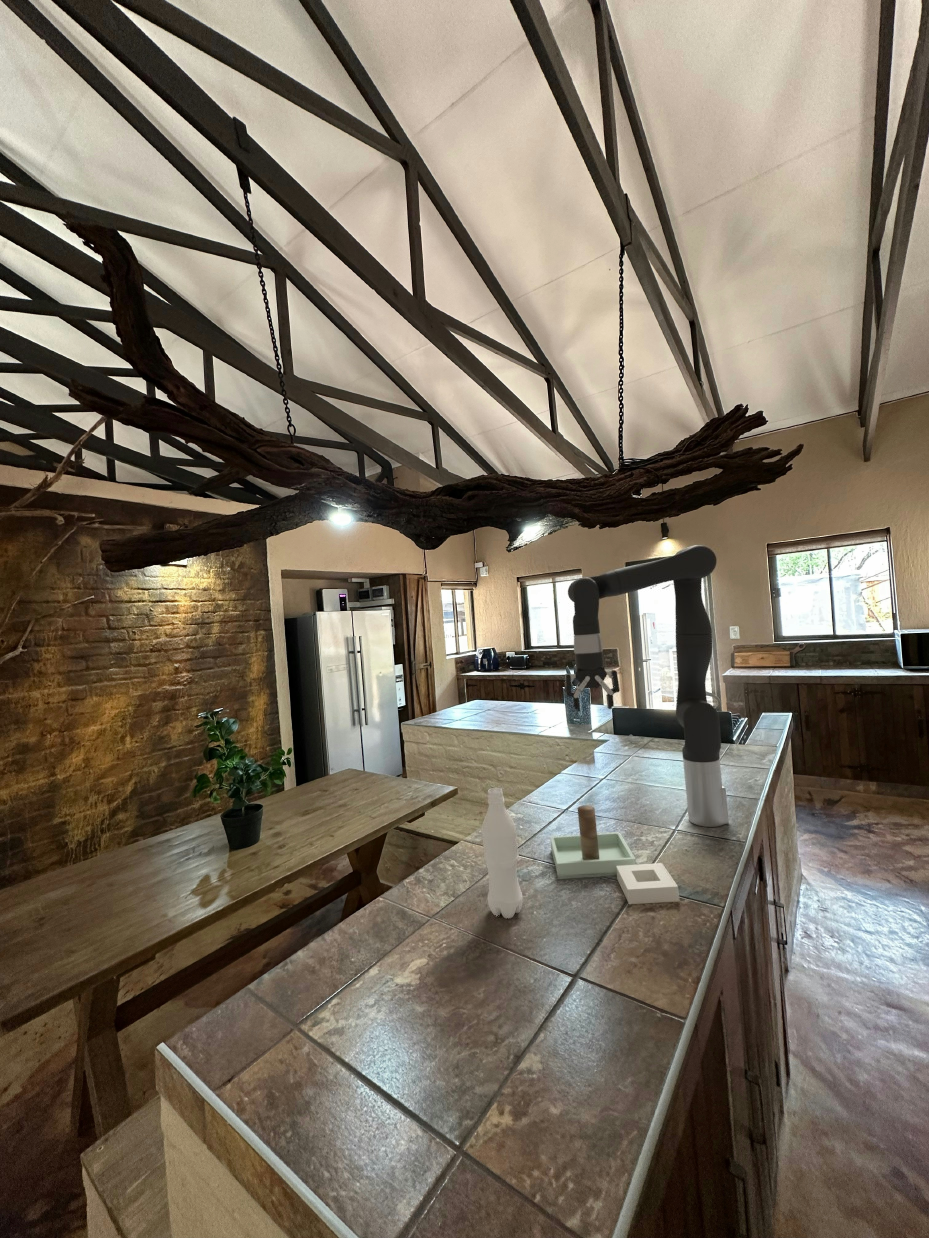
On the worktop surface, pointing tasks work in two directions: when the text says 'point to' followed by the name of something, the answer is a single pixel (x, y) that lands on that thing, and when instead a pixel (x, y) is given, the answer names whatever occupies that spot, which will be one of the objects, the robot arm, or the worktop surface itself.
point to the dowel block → (647, 883)
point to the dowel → (588, 832)
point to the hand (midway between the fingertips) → (594, 709)
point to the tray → (574, 866)
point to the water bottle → (501, 857)
